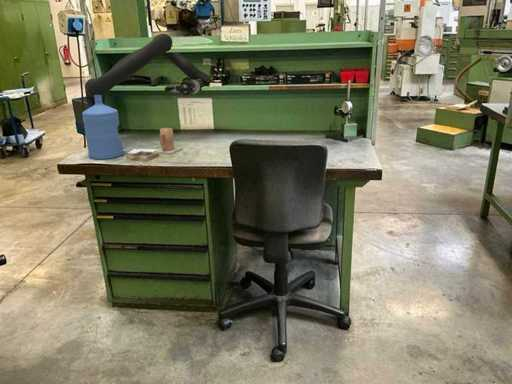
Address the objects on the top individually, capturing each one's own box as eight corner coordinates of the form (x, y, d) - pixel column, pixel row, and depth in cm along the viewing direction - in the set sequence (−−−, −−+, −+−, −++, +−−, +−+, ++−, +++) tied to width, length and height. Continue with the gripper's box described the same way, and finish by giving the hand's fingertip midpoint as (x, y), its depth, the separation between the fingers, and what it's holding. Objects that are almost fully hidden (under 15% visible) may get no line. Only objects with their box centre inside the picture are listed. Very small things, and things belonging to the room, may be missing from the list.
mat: (153, 152, 200) (153, 151, 199) (165, 147, 208) (165, 146, 208) (171, 154, 196) (170, 152, 196) (182, 149, 204) (182, 147, 204)
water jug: (104, 161, 186) (95, 98, 177) (81, 157, 194) (71, 96, 184) (130, 153, 199) (123, 94, 189) (107, 150, 206) (99, 92, 197)
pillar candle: (156, 151, 198) (154, 130, 195) (165, 147, 206) (164, 127, 202) (167, 152, 196) (165, 131, 193) (176, 148, 204) (175, 128, 200)
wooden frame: (127, 159, 189) (126, 156, 188) (141, 153, 198) (141, 150, 197) (145, 161, 185) (145, 158, 185) (159, 155, 194) (159, 152, 193)
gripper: (178, 79, 222) (160, 82, 207) (201, 80, 216) (184, 82, 202) (178, 93, 224) (161, 97, 210) (201, 94, 219) (185, 98, 205)
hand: (172, 90), depth 206 cm, fingers open, 8 cm apart
